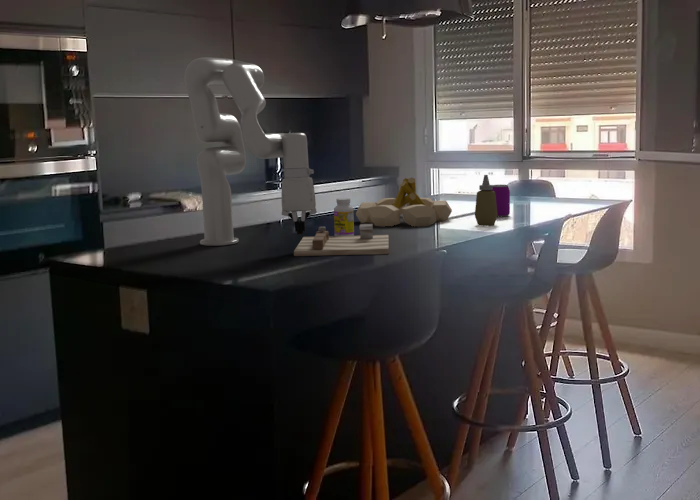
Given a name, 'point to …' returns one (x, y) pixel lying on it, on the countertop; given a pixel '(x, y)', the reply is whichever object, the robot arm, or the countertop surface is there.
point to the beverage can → (502, 200)
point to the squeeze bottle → (486, 204)
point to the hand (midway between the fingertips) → (300, 233)
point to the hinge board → (346, 244)
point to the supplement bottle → (343, 218)
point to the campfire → (404, 208)
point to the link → (320, 239)
